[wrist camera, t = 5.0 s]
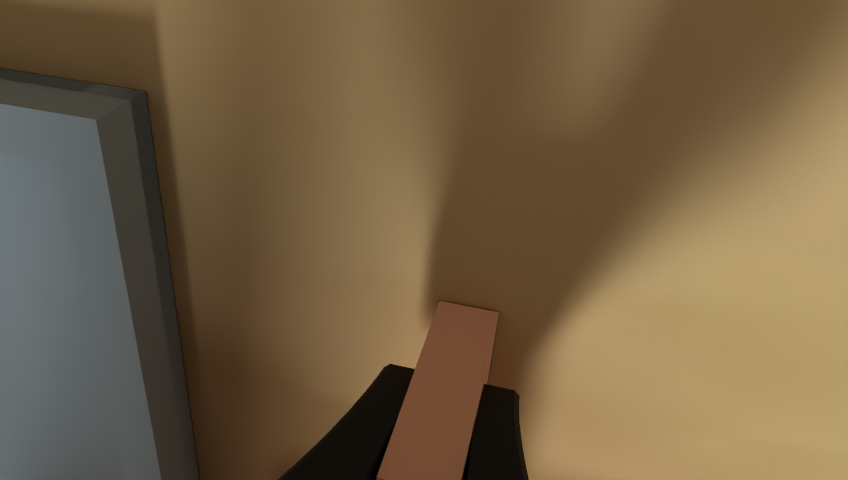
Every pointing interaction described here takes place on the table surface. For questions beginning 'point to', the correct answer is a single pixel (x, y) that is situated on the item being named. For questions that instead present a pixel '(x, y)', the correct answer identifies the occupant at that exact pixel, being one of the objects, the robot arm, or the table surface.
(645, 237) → the table surface
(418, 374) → the long salmon pink stick
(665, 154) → the table surface
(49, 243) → the tray
